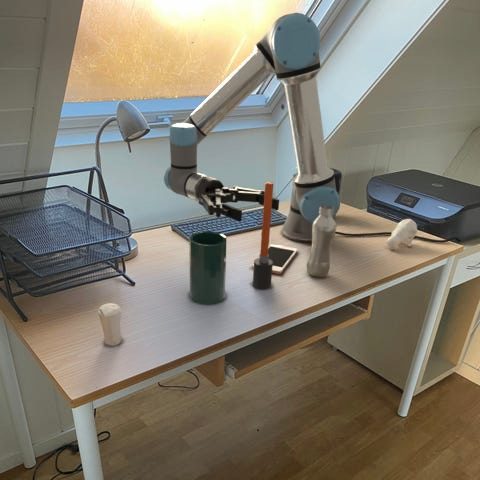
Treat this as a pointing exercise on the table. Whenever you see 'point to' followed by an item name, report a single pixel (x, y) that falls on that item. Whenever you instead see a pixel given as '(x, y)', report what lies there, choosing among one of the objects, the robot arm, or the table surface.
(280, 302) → the table surface
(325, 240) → the plastic bottle
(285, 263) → the cell phone
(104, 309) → the milkshake
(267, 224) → the brush
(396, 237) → the white animal figurine
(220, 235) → the cup
